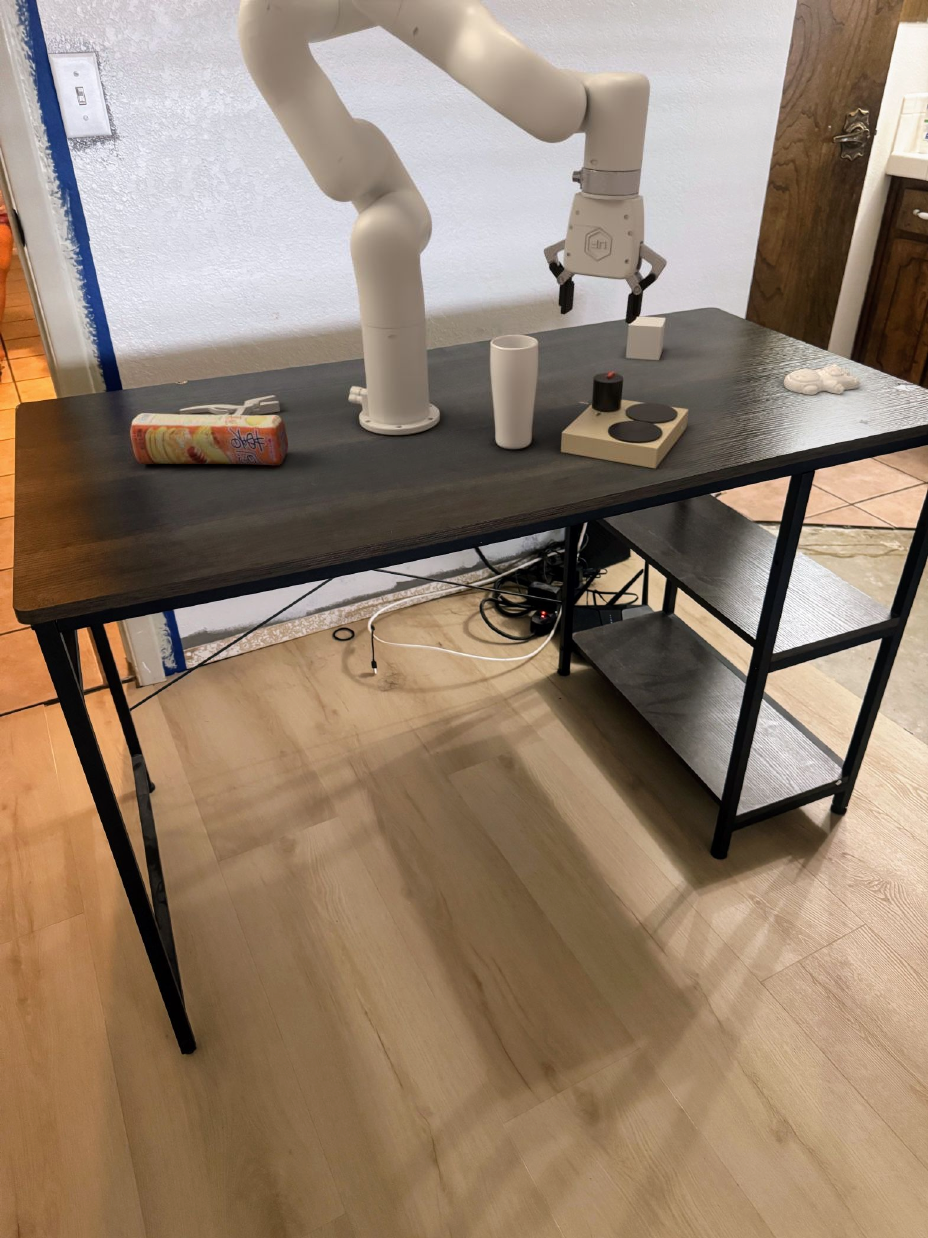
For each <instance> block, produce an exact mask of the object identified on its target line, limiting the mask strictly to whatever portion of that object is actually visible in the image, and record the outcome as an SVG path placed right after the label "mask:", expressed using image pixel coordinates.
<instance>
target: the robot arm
mask: <svg viewBox="0 0 928 1238" xmlns="http://www.w3.org/2000/svg"><path fill="white" fill-rule="evenodd" d="M377 27H380V28H382V29H383V30H384V31H386V32H387V33H389V34H390V35H392V36H393V37H395V38H396V39H398V40H399V41H400V42H402V43H404V44H405V45H406V46H407V47H409V48H411V49H412V50H413V51H415V52H417V53H418V54H419V55H420V56H422V57H423V58H425V59H426V60H427V61H428V62H430V63H432V64H433V65H435V67H437V68H438V69H440V70H441V71H442V72H444V73H446V74H447V75H448V76H449V77H450V78H451V79H452V80H453V81H455V82H456V83H458V84H459V85H461V86H463V87H464V88H465V89H467V90H468V91H470V92H471V93H472V94H473V95H474V96H475V97H477V98H478V99H479V100H480V101H482V102H483V103H484V104H486V105H487V106H488V107H490V108H491V109H493V110H494V111H495V112H496V113H498V114H499V115H501V116H502V117H503V118H505V119H506V120H508V121H510V122H511V123H513V125H515V126H517V127H518V128H520V130H522V131H524V132H526V133H527V134H529V135H530V136H531V137H533V138H535V139H536V140H538V141H541V142H544V143H548V144H558V143H561V142H564V141H566V140H568V139H569V138H571V137H572V136H573V135H574V134H584V136H585V137H584V138H585V139H584V149H583V150H584V151H583V162H582V163H583V165H582V166H581V169H579V170H574V171H573V172H572V176H571V179H572V183H577V184H579V190H580V191H579V192H576V193H574V196H573V200H572V203H571V208H570V212H569V217H568V222H567V228H566V234H565V238H564V239H562V240H560V241H558V242H555V243H553V244H551V245H548V246H546V247H545V248H544V249H543V254H544V257H545V260H546V263H547V264H548V269H549V272H550V273H551V274H552V275H553V276H554V278H555V279H556V283H557V284H558V285H559V288H558V303H557V304H558V307H560V315H566V314H568V313H570V312H571V311H572V310H573V308H574V299H575V298H574V296H575V281H574V280H573V278H574V276H575V275H578V276H584V277H585V276H586V277H594V278H602V279H609V280H619V281H620V280H621V281H622V280H624V281H626V283H627V285H628V286H629V288H630V290H631V292H630V293H629V294H628V295H627V303H626V312H625V319H624V321H625V323H626V324H627V325H629V324H631V323H632V322H633V321H635V320H636V318H637V317H639V316H641V314H642V306H643V296H644V291H645V290H647V289H648V288H649V287H650V286H651V285H653V284H654V283H655V282H656V281H657V280H658V279H659V277H660V275H661V274H662V272H663V271H664V269H665V268H666V266H667V264H668V261H667V259H666V258H664V257H663V256H661V255H660V254H659V253H657V252H656V251H654V250H653V249H652V248H650V247H649V246H647V245H646V244H645V204H644V196H643V195H640V194H639V193H640V186H641V185H640V184H641V177H642V166H643V156H644V149H645V141H646V140H645V139H646V129H647V122H648V121H647V120H648V113H649V112H648V111H649V103H650V94H651V84H650V81H649V79H648V77H647V76H646V75H645V74H644V73H643V74H642V73H638V72H626V71H620V72H619V71H607V72H606V71H605V72H600V73H598V74H597V73H589V72H584V71H577V70H571V69H567V68H558V67H556V66H555V65H554V64H552V63H551V62H549V61H548V60H547V59H545V58H544V57H542V56H541V55H539V54H538V53H537V52H535V51H534V50H533V49H531V48H530V47H529V46H527V45H526V44H525V43H524V42H522V41H521V40H520V39H518V38H517V37H516V36H514V35H513V34H512V33H511V32H509V31H508V30H507V29H506V28H505V27H504V26H503V25H502V24H501V23H500V22H499V21H498V20H497V18H496V17H495V16H494V15H493V13H492V12H491V10H490V9H489V8H488V7H487V6H486V5H485V4H484V3H483V2H482V1H481V0H240V4H239V10H238V18H237V36H238V42H239V47H240V52H241V55H242V58H243V61H244V64H245V66H246V69H247V71H248V73H249V75H250V77H251V79H252V81H253V83H254V84H255V86H256V88H257V89H258V91H259V93H260V94H261V96H262V97H263V100H264V101H265V102H266V104H267V105H268V107H269V109H270V110H271V112H272V113H273V115H274V117H275V119H276V120H277V122H278V123H279V125H280V126H281V129H282V130H283V132H284V134H285V135H286V136H287V138H288V140H289V142H290V143H291V144H292V147H293V148H294V149H295V151H296V153H297V154H298V156H299V158H300V160H301V161H302V163H303V164H304V166H305V167H306V169H307V171H308V173H310V175H311V177H312V179H313V180H314V182H315V184H316V185H317V187H318V188H319V190H320V191H321V192H322V193H323V195H325V196H326V197H328V198H330V199H331V200H332V201H335V202H339V203H348V202H351V204H352V205H353V208H354V209H355V211H356V213H358V216H357V217H356V219H355V221H354V223H353V226H352V229H351V233H350V242H349V243H350V257H351V263H352V267H353V273H354V277H355V283H356V290H357V296H358V297H357V298H358V304H359V305H358V306H359V307H358V308H359V317H360V324H361V337H362V349H363V360H364V371H365V372H364V373H365V383H366V385H365V386H366V388H365V387H361V386H357V385H352V386H351V388H350V390H349V395H348V402H349V403H350V404H355V405H361V407H362V410H361V412H360V413H359V416H358V420H359V424H360V426H361V427H362V428H363V429H365V430H367V431H369V432H372V433H375V434H379V435H387V436H405V435H412V434H413V435H414V434H418V433H422V432H424V431H427V430H429V429H432V428H433V427H435V426H436V425H437V424H438V423H439V422H440V420H441V412H440V409H439V408H438V407H437V406H435V405H434V404H432V403H430V390H429V389H430V388H429V368H428V367H429V365H428V345H427V323H426V305H425V303H426V302H425V293H424V291H425V290H424V284H423V283H424V281H423V275H422V267H421V266H422V265H421V255H422V253H423V252H424V251H425V249H426V248H427V246H428V245H429V243H430V240H431V238H432V234H433V233H432V232H433V219H432V214H431V211H430V209H429V207H428V205H427V203H426V201H425V199H424V197H423V196H422V194H421V192H420V190H419V189H418V187H417V185H416V184H415V181H414V180H413V178H412V176H411V175H410V174H409V172H408V170H407V168H406V166H405V165H404V163H403V162H402V160H401V158H400V156H399V154H398V152H397V151H396V149H395V148H394V146H393V144H392V143H391V141H390V139H388V137H387V136H386V134H384V132H383V131H382V130H381V129H380V128H379V127H378V126H376V125H375V123H373V122H371V121H369V120H367V119H364V118H360V117H353V116H352V115H351V113H350V111H349V110H348V109H347V106H345V104H344V102H343V100H342V99H341V97H340V96H339V94H338V92H337V89H336V88H335V87H334V85H333V83H332V81H331V80H330V78H329V76H328V75H327V74H326V73H325V71H324V70H323V69H322V67H321V66H320V64H319V63H318V62H317V61H316V59H315V57H314V56H313V53H312V51H311V49H310V44H316V43H322V42H327V41H329V40H332V39H336V38H339V37H340V38H341V37H343V36H347V35H352V34H354V33H358V32H361V31H365V30H369V29H373V28H377ZM562 251H563V260H562V261H563V262H561V261H560V260H559V257H558V253H560V252H562ZM643 260H644V261H646V262H647V263H648V264H650V265H651V269H650V271H649V273H648V275H646V276H645V277H643V275H642V274H641V271H640V270H641V268H642V264H643ZM562 263H563V264H562Z"/></svg>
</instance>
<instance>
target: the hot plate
mask: <svg viewBox="0 0 928 1238" xmlns="http://www.w3.org/2000/svg"><path fill="white" fill-rule="evenodd" d="M641 403H642V402H640V401H636V400H635V401H634V400H627V399H622V402H621V408H620V409H619V410H617V411H614V412H601V411H597V410H594V409H593V408H592V403H591V404H590V403H589V402H584V401H579V402H578V404H579V405H586V406H587V408H586V409H585V410H584V411H583V412H582V413H581V414H580V415H579V416H577V417H576V418H575V420H573V421H572V422H571V423H570V424H569V425H568V426H567V427H566V428H565V429H564V430H563V431H562V432H561V442H560V443H561V444H560V445H561V446H560V452H561V453H565V454H570V455H576V456H582V457H587V458H593V459H598V460H604V461H610V462H616V463H622V464H627V465H631V466H632V465H634V466H638V467H644V468H649V469H657V468H658V466H659V464H661V462H662V461H663V459H664V458H665V456H667V454H668V453H669V451H670V450H672V447H673V446H674V445H675V443H676V442H677V441H678V440H679V438H680V437H681V436H682V434H683V433H685V430H686V429H687V424H688V418H689V408H681V407H676V406H675V407H673V406H671V407H672V408H674V409H675V410H676V411H677V412H678V416H677V418H676V419H675V420H673V421H670V422H667V423H660V424H654V425H657V426H658V427H660V428H661V429H662V432H663V433H662V436H661V438H659V439H658V440H656V441H653V442H648V443H628V442H623V441H619V440H616V439H614V438H612V437H611V436H610V435H609V434H608V428H609V427H610V426H611V425H613V424H615V423H618V422H623V421H634V420H632V419H630V418H628V417H627V416H626V414H625V411H626V409H627V408H628V407H630V406H632V405H635V404H641ZM589 404H590V405H589ZM588 405H589V406H588Z"/></svg>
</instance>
